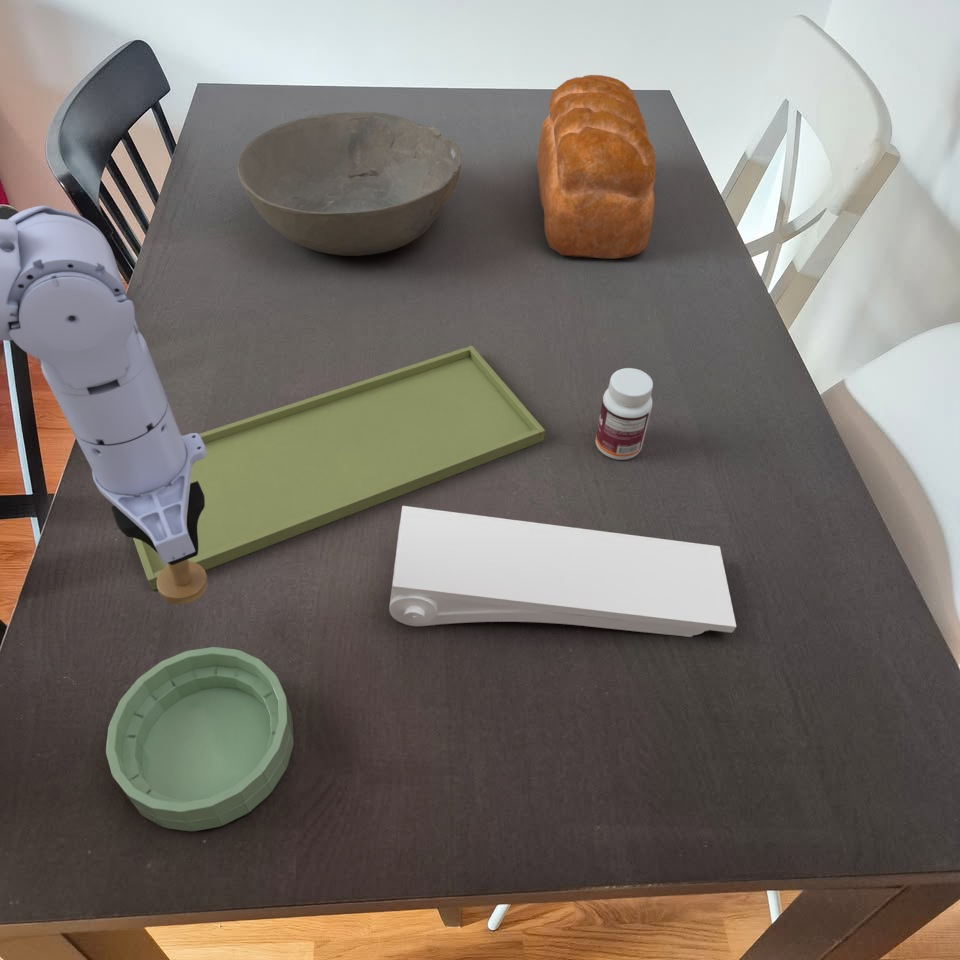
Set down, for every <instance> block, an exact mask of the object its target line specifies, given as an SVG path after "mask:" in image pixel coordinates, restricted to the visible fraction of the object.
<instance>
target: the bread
mask: <svg viewBox="0 0 960 960" xmlns="http://www.w3.org/2000/svg"><path fill="white" fill-rule="evenodd" d="M548 103H549V104H548V112H549V115H547V117H546V118H545V120H544V121H542V125H541V130H540V136H539V142H538V149H537V160H536V168H537V175H538V188H539V190H538V191H539V198H540V204H541V208H542V210H543V213H544V217H543V224H544V225H543V228H544V235H545V238H546V241H547V244H548V247H549V248H551V249H552V250H554V251H555V252H557V253H558V254H559V255H561V256H564V257H566V256H567V257H574V258H575V257H576V258H588V259H589V258H592V259H604V260H606V259H608V260H609V259H610V260H611V259H622V258H623V259H624V258H630V257H633V256H637V255H639V254H640V253H641V252H642V251H644V250H645V249H646V248H647V247H648V243H649V239H650V235H651V231H652V227H653V223H654V222H653V221H654V210H655V190H654V184H655V182H656V153H655V150H654V147H653V145H652V144H651V142H650V139H649V136H648V135H649V134H648V130H647V128H646V123H645V119H644V117H643V115H642V112H641V109H640V106H639V104H638V101H637V100H636V98H635V94H634V92H633V90H632V88H630V87H629V86H628V85H627V84H626V83H625V82H624V81H621V80H620V79H618V78H615V77H611V76H607V75H600V74H587V75H583V76H579V77H577V76H576V77H572V78H570V79H567V80H565V81H564V82H563V83H561V84H560V85H559V86H558V87H556V88H555V89H554V90H552V92H551V95H550V98H549V102H548Z"/></svg>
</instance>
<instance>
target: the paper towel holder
mask: <svg viewBox="0 0 960 960" xmlns="http://www.w3.org/2000/svg"><path fill="white" fill-rule="evenodd" d="M208 582H209V581H208V575H207V572H206V570H204V568H203V567H202V566H200V565H199V564H197V563H195V562H191V561H188V559H187V560H184V561H182V562H179V563H177V564H174V565H170V564H169V563H168V566H167V567H165V568H164V569H163V570H162V571H161V572H160V573H159V575H158V578H157V588H158V589H157V592H158V595H159V597H161V598H162V599H163V600H164V601H166V602H167V603H169V604H174V605H185V604H190V603H192V602H194V601H196V600H198V599H199V598H201V597H202V596H203V595H204V594H205V592H206V590H207V588H208Z"/></svg>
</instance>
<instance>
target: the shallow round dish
mask: <svg viewBox="0 0 960 960" xmlns="http://www.w3.org/2000/svg"><path fill="white" fill-rule="evenodd" d="M294 739H295V737H294V720H293V716H292V712H291V709H290V705H289V702H288V699H287V696H286V693H285V691H284V689H283V687H282V684H281V682H280V679H279V677H278V676H277V674H276V673H274V671H273V670H272V669H271V668H270V667H269V666H268V665H266V663H264V661H262V659H259V658H257V657H255V656H253V655H251V654H248V653H246V652H244V651H242V650H240V649H235V648H227V647H217V646H211V647H205V648H196V649H191V650H190V649H189V650H185V651H183V652H181V653H178V654H175V655H173V656H170V657H168V658H166V659H164V660H162V661H160V662H159V663H157V664H156V665H154V666H153V667H151V668H150V669H149V670H147V671H146V672H145V673H143V674H142V675H140V676H139V677H138V678H137V679H136V680H135V681H134V682H133V684H132V685H131V686H130V687H129V689H128V690H127V691H126V692H125V694H124V695H123V696H122V697H121V698H120V700H119V701H118V704H117V706H116V708H115V710H114V712H113V715H112V717H111V719H110V722H109V723H108V726H107V737H106V745H105V746H106V747H105V754H106V758H107V761H108V766H109V769H110V773H111V776H112V778H113V779H114V780H115V782H116V783H117V785H118V786H119V787H120V789H121V791H122V792H123V793H124V795H125V796H126V798H127V799H128V800H129V802H130V803H131V804H132V805H133V806H134V807H135V809H136V810H137V812H138V813H139V814H140V815H141V816H142V817H143V818H145V819H148V820H149V821H151V822H153V823H155V824H157V825H158V826H160V827H162V828H165V829H170V830H177V831H185V832H198V831H203V830H209V829H214V828H215V829H216V828H220V827H223V826H225V825H227V824H229V823H231V822H233V821H236V820H238V819H240V818H241V817H243V816H245V815H248V814H249V813H251V812H252V811H253V810H254V809H255V808H256V807H257V806H258V805H259V804H261V803H262V802H263V801H264V800H265V799H267V797H268V796H269V795H271V793H272V792H273V791H274V789H275V788H276V786H277V785H278V783H279V781H280V780H281V778H282V777H283V775H284V773H285V772H286V770H288V769H287V768H288V766H289V762H290V759H291V755H292V752H293V748H294V742H295V740H294Z"/></svg>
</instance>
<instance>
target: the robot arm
mask: <svg viewBox="0 0 960 960" xmlns="http://www.w3.org/2000/svg"><path fill="white" fill-rule="evenodd" d="M112 249H113V248H112V247H111V245H110V243H109V242H108V240H107V238H106V237H105V235H104V234H103V232H102V231H101V230H100V229H99V228H98V227H97V226H96V225H95V224H94V223H93V222H91V221H90V220H88V219H87V218H85V217H83V216H81V215H79V214H77V213H74V212H71V211H67V210H62V209H56V208H54V207H51V206H49V205H38V206H33V207H29V208H26V209H23V210H20V211H19V212H17V213H15V214H14V215H12V216H11V217H9V218H7V219H3V218H2V219H1V218H0V341H13V342H14V343H15V345H16V346H17V347H19V348H20V349H21V350H22V351H24V352H25V353H26V354H28V355H29V356H31V357H33V358H36V359H37V360H39V362H40V367H41V372H42V375H43V377H44V379H45V381H46V383H47V384H48V386H49V388H50V390H51V392H52V394H53V396H54V398H55V400H56V402H57V404H58V406H59V408H60V410H61V412H62V414H63V415H64V418H65V420H66V422H67V423H68V425H69V427H70V429H71V432H72V433H73V435H74V438H75V440H76V441H77V444H78V445H79V447H80V449H81V451H82V453H83V455H84V457H85V459H86V461H87V462H88V464H89V466H90V468H91V470H92V471H91V472H92V473H91V474H92V479H93V482H94V484H95V485H96V487H97V489H98V492H100V493H101V495H102V496H103V497H104V498H105V499H107V500H108V501H109V502H110V503H111V504H112V505H111V507H110V508H111V511H112V515H113V517H114V520H115V524H116V526H117V527H118V529H119V531H120V532H121V533H122V534H123V535H125V536H126V537H128V538H132V539H133V538H136V539H139V540H141V541H143V542H145V543H147V544H148V545H149V546H151V547H152V548H153V549H154V550H155V551H156V552H157V553H158V554H159V556H160V558H161V560H162V562H163V564H166V563H169V564H170V565H174V564H177V563H179V562H182V561H184V560H187V559H189V558H192V557H195V556H197V554H198V534H197V524H198V519H199V516H200V514H201V512H202V510H203V509H204V507H205V498H204V494H203V491H202V489H201V487H200V485H199V482H198V481H196V482H193V483H191V484H190V481H191V472H192V465H193V464H194V462H196V461H198V460H201V459H203V458H205V457H206V455H207V451H206V448H205V445H204V443H203V441H202V439H201V437H200V435H199V434H200V433H197V432H191V433H188V434H184V435H181V431H180V429H179V426H178V423H177V421H176V418H175V416H174V414H173V413H174V412H173V410H172V408H171V406H170V402H169V400H168V397H167V395H166V392H165V389H164V386H163V384H162V381H161V378H160V376H159V373H158V371H157V368H156V366H155V363H154V360H153V357H152V355H151V352H150V350H149V347H148V345H147V341H146V340H145V338H144V336H143V334H142V333H141V332H140V331H139V326H138V322H137V320H136V318H135V317H136V312H135V311H136V310H135V306H134V303H133V301H132V300H131V299H129V298H128V297H129V296H128V294H127V292H126V288H125V285H124V283H123V278H122V277H121V273H120V270H119V267H118V264H117V261H116V258H115V255H114V252H113V250H112Z"/></svg>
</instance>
